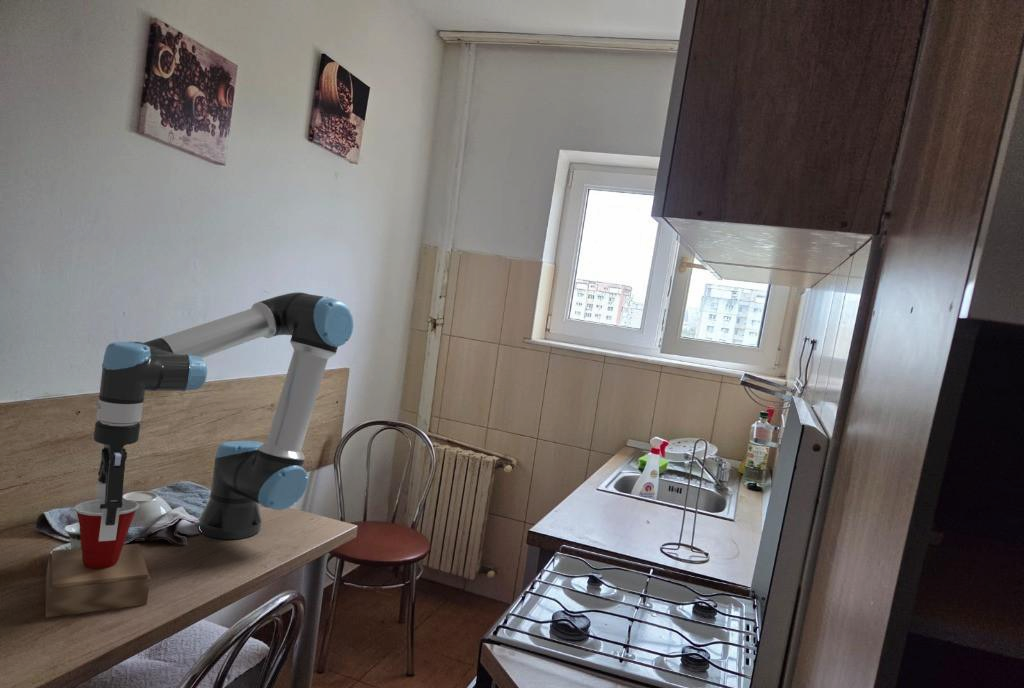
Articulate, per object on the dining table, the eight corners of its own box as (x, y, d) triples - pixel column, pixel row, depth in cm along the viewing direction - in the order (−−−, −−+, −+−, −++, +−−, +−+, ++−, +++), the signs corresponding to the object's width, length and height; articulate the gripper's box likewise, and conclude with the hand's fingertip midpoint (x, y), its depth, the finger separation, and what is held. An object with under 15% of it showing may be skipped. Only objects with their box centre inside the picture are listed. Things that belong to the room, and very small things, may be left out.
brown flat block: (137, 569, 136) (141, 542, 136) (146, 604, 124) (150, 574, 123) (45, 578, 127) (49, 550, 126) (45, 617, 114) (49, 585, 114)
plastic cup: (124, 548, 132) (131, 492, 132) (138, 568, 125) (146, 510, 124) (61, 556, 125) (69, 497, 124) (72, 579, 117) (81, 516, 116)
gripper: (91, 406, 131) (79, 505, 132) (100, 438, 111) (84, 554, 112) (133, 407, 135) (120, 503, 137) (148, 438, 116) (133, 550, 117)
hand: (104, 526), depth 124 cm, fingers open, 13 cm apart
